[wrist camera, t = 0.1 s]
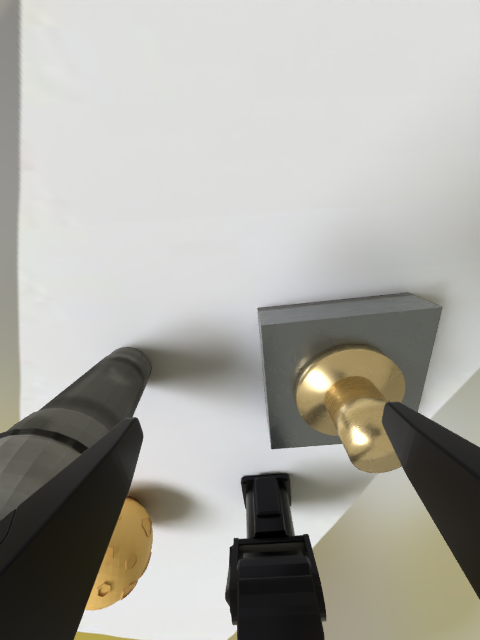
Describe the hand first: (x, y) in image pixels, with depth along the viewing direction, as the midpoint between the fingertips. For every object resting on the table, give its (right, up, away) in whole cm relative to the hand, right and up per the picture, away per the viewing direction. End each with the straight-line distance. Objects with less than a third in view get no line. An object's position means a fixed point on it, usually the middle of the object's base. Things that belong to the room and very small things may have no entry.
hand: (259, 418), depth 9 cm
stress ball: (-17, -23, +26) cm, 38 cm away
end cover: (+9, -1, +15) cm, 17 cm away
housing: (+9, -1, +16) cm, 18 cm away
